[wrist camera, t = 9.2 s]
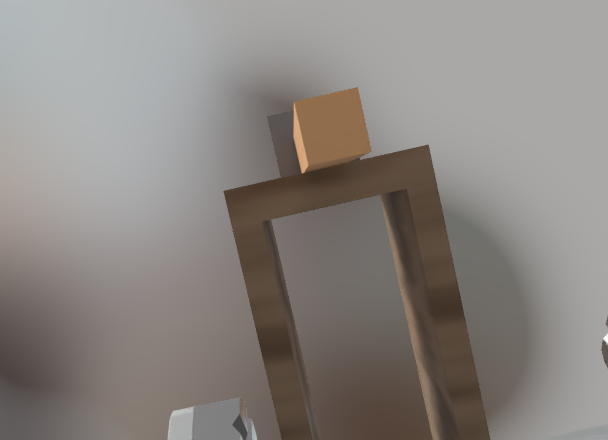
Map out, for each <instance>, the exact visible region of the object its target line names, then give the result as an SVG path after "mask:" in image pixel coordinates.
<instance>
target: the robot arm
mask: <svg viewBox="0 0 608 440" xmlns="http://www.w3.org/2000/svg"><path fill="white" fill-rule="evenodd" d="M606 325H607V326H608V317H607V322H606ZM602 354H603V358H604V362H605V364H606V365H607V367H608V334H607V335H606V336H605V337H604V339H603V343H602ZM168 440H257V436H256V432H255V429H254V425H253V423H252V420H251V419H250V418H248V417H247V409H246V405H245V402H244V400H243V398H242V397H239V398H234V399H229V400H224V401H219V402H214V403H209V404H204V405H199V406H194V407H190V408H185V409H181V410H176V411H173V413H172V415H171V417H170V422H169V433H168Z"/></svg>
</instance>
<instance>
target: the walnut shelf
mask: <svg viewBox="0 0 608 440" xmlns="http://www.w3.org/2000/svg"><path fill="white" fill-rule="evenodd" d="M224 195H225V199H226V203H227V208H228V212H229V216H230V220H231V225H232V229H233V233H234V237H235V242H236V245H237V250H238V254H239V259H240V263H241V267H242V272H243V276H244V280H245V284H246V289H247V293H248V297H249V301H250V306H251V310H252V314H253V318H254V323H255V327H256V331H257V335H258V340H259V344H260V348H261V352H262V357H263V361H264V365H265V369H266V374H267V378H268V382H269V386H270V391H271V395H272V399H273V403H274V408H275V412H276V416H277V421H278V425H279V429H280V433H281V438H282V440H322V439H321V435H320V431H319V426H318V422H317V418H316V413H315V409H314V405H313V400H312V396H311V392H310V387H309V383H308V378H307V374H306V370H305V365H304V361H303V357H302V352H301V348H300V344H299V339H298V335H297V331H296V326H295V322H294V318H293V313H292V309H291V304H290V300H289V296H288V291H287V287H286V283H285V278H284V274H283V270H282V265H281V261H280V257H279V252H278V248H277V244H276V239H275V235H274V230H273V226H272V222H271V219H275V218H279V217H284V216H289V215H293V214H297V213H302V212H306V211H310V210H315V209H319V208H324V207H328V206H332V205H337V204H341V203H345V202H350V201H355V200H359V199H364V198H368V197H372V196H377V195H380V198H381V202H382V207H383V211H384V216H385V221H386V225H387V230H388V234H389V239H390V244H391V248H392V253H393V258H394V262H395V267H396V271H397V276H398V280H399V285H400V290H401V294H402V299H403V304H404V308H405V313H406V318H407V322H408V327H409V331H410V336H411V340H412V345H413V350H414V354H415V359H416V364H417V368H418V373H419V377H420V382H421V387H422V391H423V396H424V401H425V405H426V410H427V414H428V419H429V423H430V428H431V433H432V438H433V440H490V436H489V431H488V426H487V421H486V417H485V412H484V407H483V402H482V398H481V393H480V389H479V383H478V379H477V374H476V369H475V364H474V359H473V355H472V350H471V345H470V340H469V335H468V331H467V326H466V321H465V317H464V312H463V307H462V303H461V297H460V293H459V288H458V283H457V278H456V274H455V269H454V264H453V259H452V254H451V250H450V245H449V240H448V236H447V231H446V226H445V221H444V216H443V212H442V207H441V202H440V197H439V192H438V188H437V183H436V178H435V173H434V169H433V164H432V159H431V154H430V149H429V145H425V146H421V147H416V148H412V149H407V150H403V151H399V152H394V153H390V154H385V155H381V156H376V157H372V158H367V159H363V160H359V161H354V162H350V163H345V164H341V165H336V166H332V167H328V168H323V169H319V170H314V171H310V172H305V173H301V174H297V175H292V176H288V177H283V178H279V179H274V180H270V181H266V182H261V183H257V184H253V185H248V186H243V187H239V188H235V189H230V190H226V191H224Z"/></svg>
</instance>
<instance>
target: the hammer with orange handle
mask: <svg viewBox="0 0 608 440" xmlns="http://www.w3.org/2000/svg"><path fill="white" fill-rule="evenodd" d="M267 118H268V122H269V127H270V131H271V136H272V140H273V145H274V149H275V153H276V158H277V162H278V166H279V171H280V175H281V178H283V177H288V176H292V175H297V174H301V173H305V172H310V171H314V170H319V169H323V168H328V167H332V166H336V165H341V164H345V163H350V162H354V161H359V160H360V159H359V157H361V156H363V155H365V154H367V153H369V152H371V147H370V142H369V137H368V133H367V128H366V123H365V119H364V114H363V110H362V105H361V100H360V97H359V91H358V88H353V89H348V90H344V91H339V92H335V93H330V94H326V95H321V96H317V97H313V98H308V99H304V100H299V101H295V102H294V111H289V112H285V113H280V114H276V115H271V116H268V117H267Z"/></svg>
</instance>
